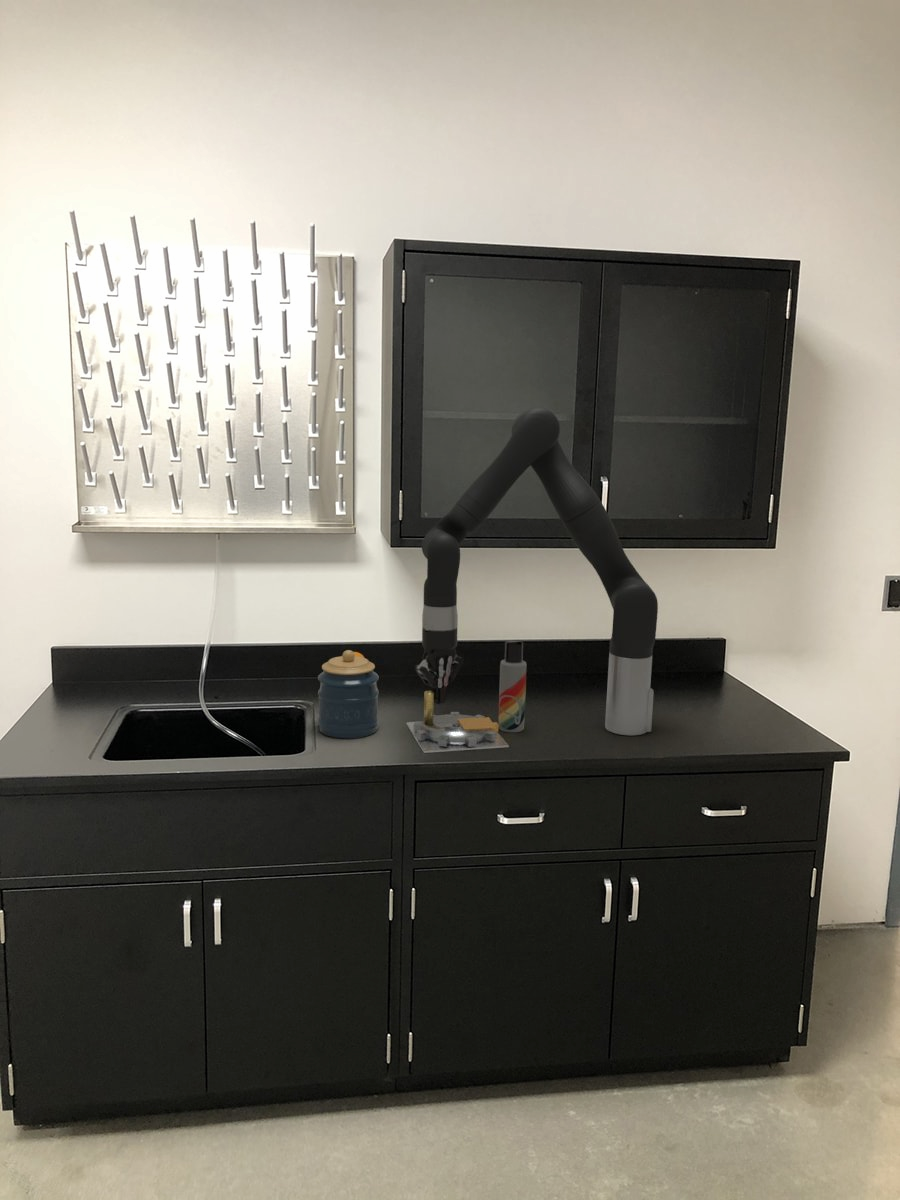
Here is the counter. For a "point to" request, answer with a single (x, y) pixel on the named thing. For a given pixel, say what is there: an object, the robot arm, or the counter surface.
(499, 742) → the base plate
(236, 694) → the counter surface
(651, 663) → the robot arm
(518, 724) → the lotion bottle
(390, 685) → the counter surface
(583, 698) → the counter surface
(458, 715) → the sprocket
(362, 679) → the canister
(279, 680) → the counter surface
